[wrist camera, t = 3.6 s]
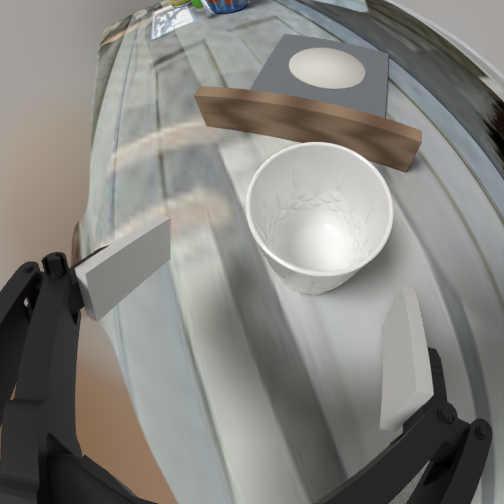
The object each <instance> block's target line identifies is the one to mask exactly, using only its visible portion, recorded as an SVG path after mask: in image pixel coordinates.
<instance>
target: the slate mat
mask: <svg viewBox="0 0 504 504" xmlns="http://www.w3.org/2000/svg"><path fill="white" fill-rule="evenodd" d="M387 80H388V54H387V53H383V52H380V51H376V50H372V49H368V48H364V47H360V46H356V45H352V44H347V43H342V42H337V41H331V40H326V39H320V38H313V37H306V36H298V35H288V34H284V36H283V37H282V39H281V40H280V42H279V43H278V45H277V46H276V48H275V49H274V51H273V53H272V54H271V56H270V57H269V59H268V61H267V62H266V64H265V65H264V67H263V69H262V70H261V72H260V74H259V75H258V77H257V79H256V80H255V82H254V84H253V85H252V87H251V89H250V90H254V91H262V92H270V93H277V94H283V95H289V96H295V97H301V98H306V99H311V100H316V101H321V102H326V103H330V104H335V105H339V106H343V107H347V108H351V109H355V110H358V111H362V112H366V113H369V114H373V115H376V116H379V117H383V118H385V110H386V97H387Z"/></svg>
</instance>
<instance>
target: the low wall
mask: <svg viewBox="0 0 504 504" xmlns="http://www.w3.org/2000/svg"><path fill="white" fill-rule="evenodd" d="M194 97H195V99H196V102H197V104H198V106H199V109H200V111H201V113H202V116H203V118H204V120H205V123H206V125H207V126H210V127H218V128H225V129H232V130H238V131H245V132H251V133H257V134H262V135H268V136H273V137H278V138H283V139H288V140H292V141H297V142H302V143H307V142H325V143H332V144H336V145H340V146H343V147H346V148H348V149H350V150H352V151H354V152H356V153H358V154H360V155H361V156H363V157H364V158H365V159H367V160H370V161H373V162H376V163H379V164H382V165H385V166H388V167H391V168H394V169H397V170H400V171H403V172H406V171H407V169H408V167H409V165H410V164H411V162H412V160H413V158H414V156H415V154H416V152H417V151H418V149H419V147H420V145H421V143H422V131H420V130H418V129H415V128H412V127H410V126H407V125H404V124H401V123H398V122H395V121H392V120H389V119H386V118H383V117H379V116H376V115H373V114H369V113H366V112H362V111H358V110H355V109H351V108H347V107H343V106H339V105H335V104H330V103H326V102H321V101H316V100H311V99H306V98H301V97H295V96H289V95H283V94H277V93H270V92H262V91H254V90H245V89H234V88H221V87H203V86H200V88H199V89H198V90H197V92H196V93H195V95H194Z"/></svg>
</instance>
